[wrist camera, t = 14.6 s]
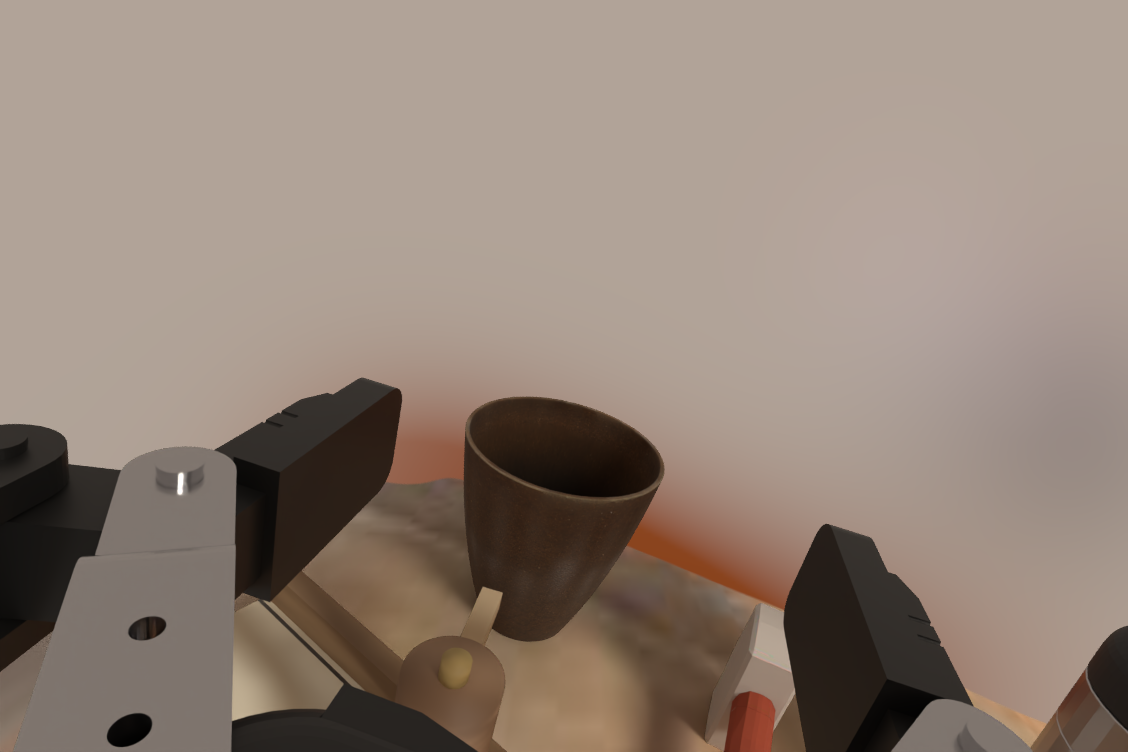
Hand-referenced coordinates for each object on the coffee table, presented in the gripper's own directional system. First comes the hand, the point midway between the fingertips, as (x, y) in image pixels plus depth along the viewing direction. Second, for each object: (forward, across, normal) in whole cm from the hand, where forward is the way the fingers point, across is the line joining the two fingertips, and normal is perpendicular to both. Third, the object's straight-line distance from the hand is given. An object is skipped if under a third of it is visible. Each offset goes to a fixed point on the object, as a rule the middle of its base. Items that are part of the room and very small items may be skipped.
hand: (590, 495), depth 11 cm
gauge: (+13, +4, +29) cm, 32 cm away
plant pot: (+30, +3, +31) cm, 43 cm away
